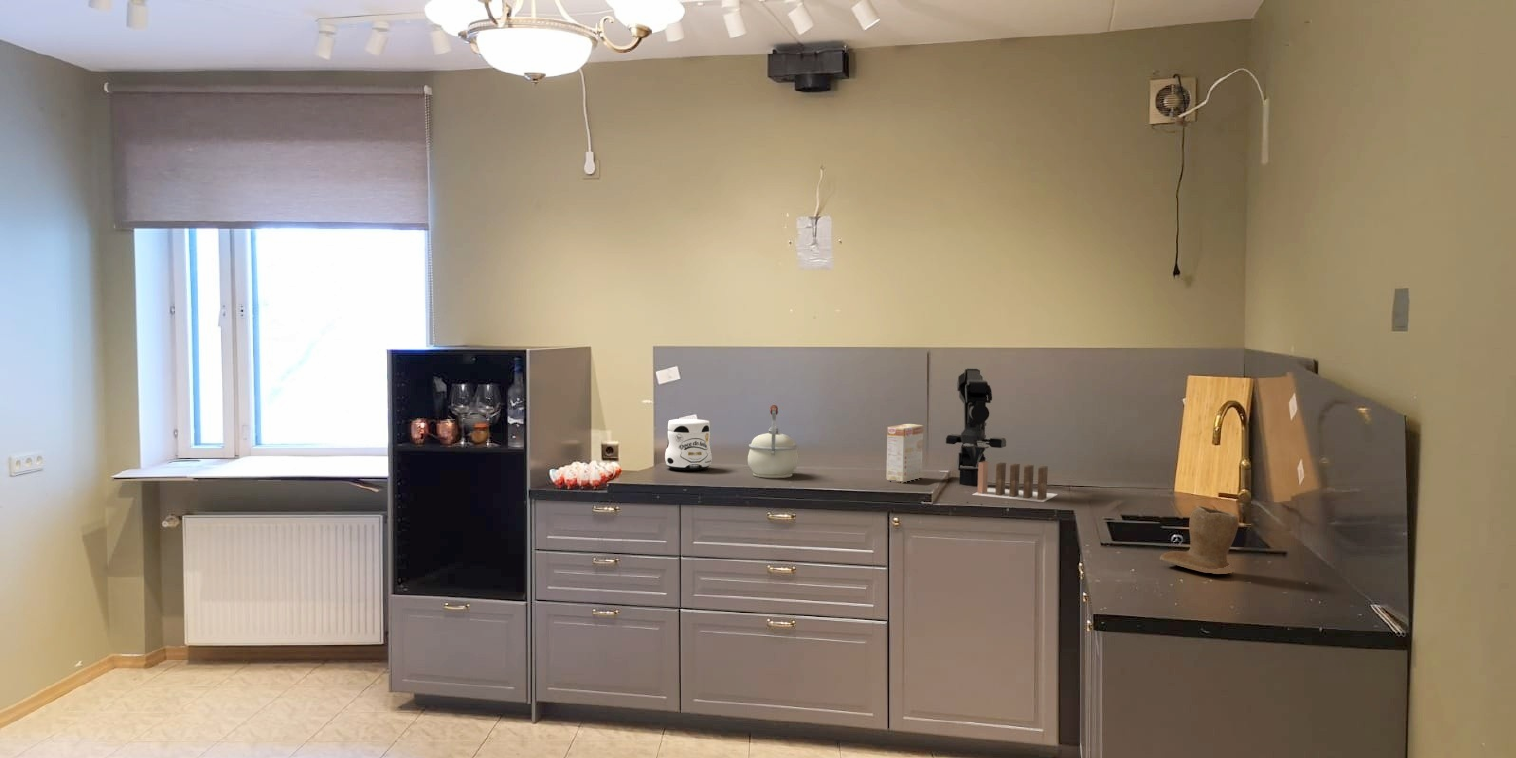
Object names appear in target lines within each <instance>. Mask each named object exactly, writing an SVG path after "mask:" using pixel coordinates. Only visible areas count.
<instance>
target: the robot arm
mask: <svg viewBox="0 0 1516 758" xmlns="http://www.w3.org/2000/svg"><path fill="white" fill-rule="evenodd" d="M956 391H957V392H958V397H959V399H960V400H961V402H962V403H963V426H964V427H963V430H962V432H961V433H960V434H954V433H951V434H948V435H947V436H946V437H945V444H946V445H956V444H957V443H958V444H961V446H960V450H959V452H958V454H957V461H956V469H957V471H959V485H961V486H967V487H978V463H979V462H982V461H986V456H985V454H984V453H985V451H986V449H989V448H995V449H996V448H997V449H1003V448H1005V447H1007V440H1006V438H1005V437H995V436H994V437H991V438H987V435H986V426H987V422H986V421H987V420H988V419H989V417H990V409H989V408H988V406H987V404H991V401H992V400H993V394H992V393H993V392H992V388H991V385H990V384H989V383H988V381H987V380H984V378H983V376H982V375H981V370H980V369H978V368H965V369H964V372H963V373H961V374H960V375H958V378H957V383H956Z"/></svg>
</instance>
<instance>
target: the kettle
mask: <svg viewBox="0 0 1516 758" xmlns="http://www.w3.org/2000/svg"><path fill="white" fill-rule="evenodd" d="M769 411H770V412H769V413H770V414H771V426H770V427H769V429H768V432H767V433H761V434H759V435H757V436H755V437H754V438H753V439H752V440H751V443H749V444H748V447H749V450H748V455H747V464H748V467H749V468H750V470H751V471H752V472H753V473H752V475H753V476H755V477H757V478H765V479H785V478H790V477H792V476H793V472H794V471H795V470H796V469H797V467H798V465H799V454H798V451H797V449H798V447H799V446H798V445H797V444H796V441H795V440H794V439H793V438H792V437H791V436H790V435H787V434H785V433H779V431H780V429H779V428H778V427H777V425H776V424H777V423H776V422H777V415H778V413H779V411H778V406H777V405H776V404H774V405H771V406H770V409H769Z"/></svg>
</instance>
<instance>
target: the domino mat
mask: <svg viewBox="0 0 1516 758" xmlns="http://www.w3.org/2000/svg"><path fill="white" fill-rule="evenodd" d="M1009 489H1010V488H1009ZM1009 489H1008V488H1005V494H1003V495H1001V496H999V495H995V494H996V487H991V486H990V487H989V486H988V487H987V492H985V493H983V494H979V493H978V491H977V492H975V493H972V494H971V495H973V496H982V497H990V498H1000V499H1002V498H1003V499H1010V500H1019V501H1020V500H1021V501H1029V502H1030V501H1031V502H1039V503H1044V502H1046V501H1048V500H1050V499H1052V498H1054V497H1056V496H1058V493H1052V492H1051V493H1049V492H1047V498H1045V499H1043V500H1038V499H1037V496H1038V491H1033V496H1032V497H1030V498H1023V490H1020V489H1019V495H1017V496H1015V497H1009Z"/></svg>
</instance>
